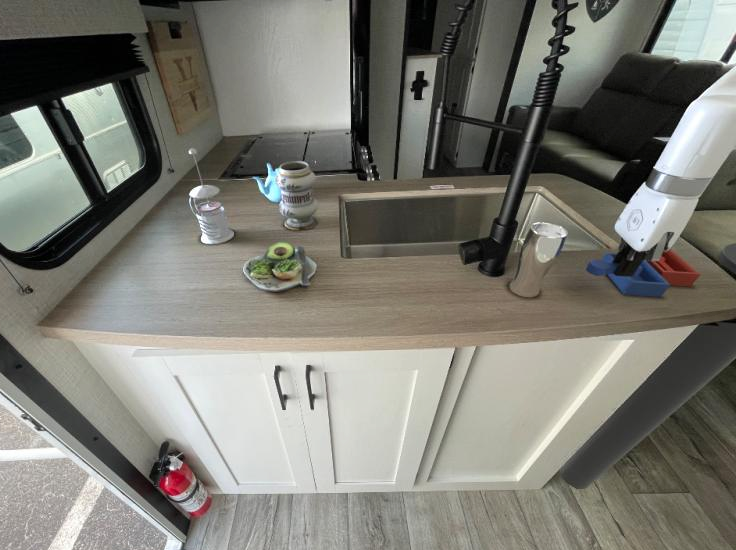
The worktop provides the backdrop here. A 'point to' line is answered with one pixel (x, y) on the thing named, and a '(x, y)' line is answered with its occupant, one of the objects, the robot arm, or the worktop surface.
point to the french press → (210, 213)
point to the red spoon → (664, 264)
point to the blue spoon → (605, 268)
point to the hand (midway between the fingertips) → (620, 272)
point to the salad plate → (280, 268)
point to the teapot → (270, 185)
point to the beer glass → (537, 257)
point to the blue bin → (639, 280)
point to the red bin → (676, 270)
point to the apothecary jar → (297, 194)
